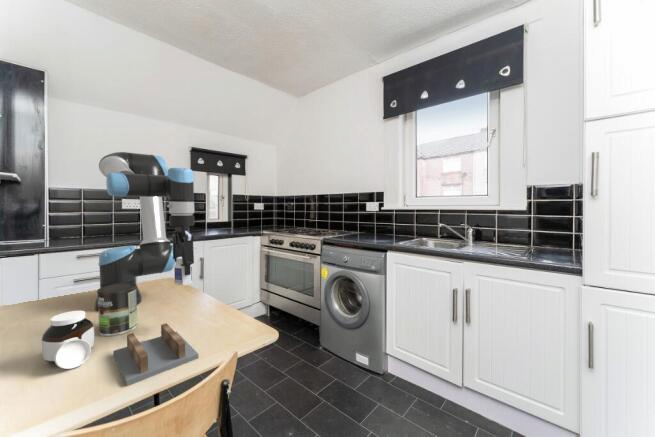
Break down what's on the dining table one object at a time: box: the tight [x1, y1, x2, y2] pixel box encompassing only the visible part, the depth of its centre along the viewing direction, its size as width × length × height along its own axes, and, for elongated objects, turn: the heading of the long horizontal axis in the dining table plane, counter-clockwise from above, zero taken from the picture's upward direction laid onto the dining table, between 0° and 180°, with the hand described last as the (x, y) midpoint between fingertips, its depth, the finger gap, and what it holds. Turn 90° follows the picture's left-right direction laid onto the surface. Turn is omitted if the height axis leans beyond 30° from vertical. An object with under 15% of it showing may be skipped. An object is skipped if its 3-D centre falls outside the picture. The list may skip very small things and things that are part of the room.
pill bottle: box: [173, 257, 193, 286], centre depth 94 cm, size 5×5×9 cm
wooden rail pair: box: [126, 322, 185, 373], centre depth 75 cm, size 16×10×4 cm, turn 46°
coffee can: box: [96, 283, 138, 337], centre depth 91 cm, size 10×10×14 cm
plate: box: [112, 331, 199, 387], centre depth 75 cm, size 18×16×1 cm
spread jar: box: [41, 310, 95, 370], centre depth 73 cm, size 12×11×12 cm
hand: (183, 282), depth 94 cm, fingers closed on pill bottle, 5 cm apart
